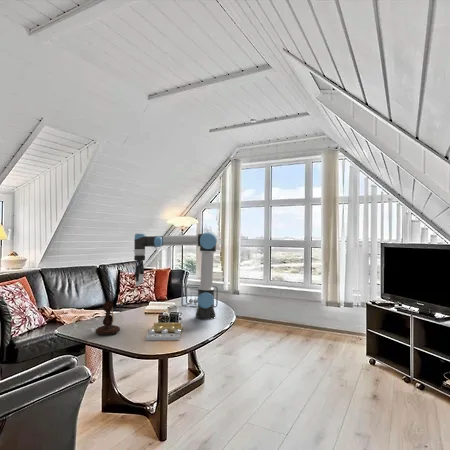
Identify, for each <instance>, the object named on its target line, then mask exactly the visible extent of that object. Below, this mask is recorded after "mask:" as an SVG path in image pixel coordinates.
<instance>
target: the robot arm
mask: <svg viewBox="0 0 450 450" xmlns="http://www.w3.org/2000/svg"><path fill="white" fill-rule="evenodd" d="M133 242H134V246H133V247H134V249H133V253H134V255H133V257H134V259H133V260H134V261H135V272H134V276H133V277H134V278H135V280H134V281H135V283H134V284H135V285H134V286H135V287H140V285H141V284H144V275H145V269H144V261H145V260H146V247H149V248H151V247H152V248H153V247H154V248H158V247H159V248H160V247H163V246H167V247H168V246H174V247H175V246H197V247H199V251H200V253H201V262H200V263H201V264H200V284H199V285H200V286H198V287H199V288H197V298H196V299H197V304H198V305H197V306H198V308H197V309H196V312H195V318H196V319H197V318H198V320H212V319H211V318H213V319H215V318H216V312H215V307H214V308H213V303H214V304H215V287H214V288H213V287H212V286H213V277H214V276H213V275H214V274H213V273H214V254H215V253H216V252H217V236H216V235H215V234H214V232H213V233H212V232H204V233H196V234H195V235H193V234H191V235H190V234H189V235H183V234H181V235H154V236H153V235H152V236H150V235H146V233H135V234H134V241H133ZM214 317H215V318H214Z"/></svg>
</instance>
